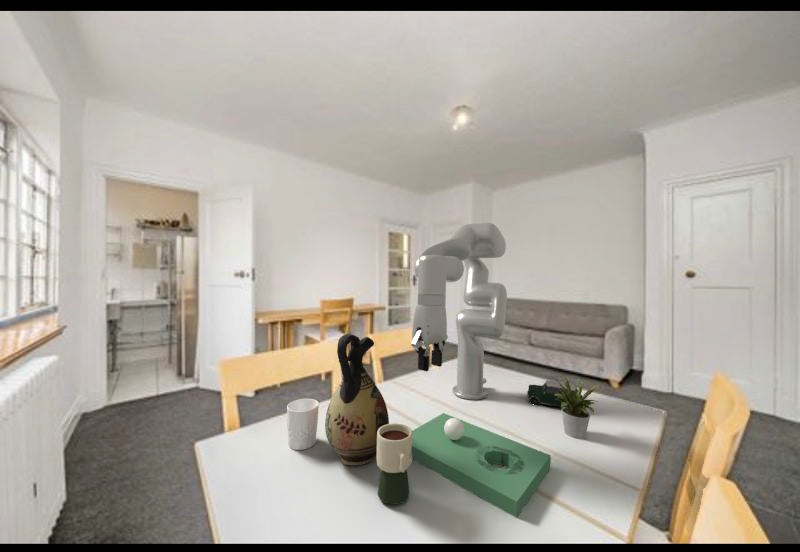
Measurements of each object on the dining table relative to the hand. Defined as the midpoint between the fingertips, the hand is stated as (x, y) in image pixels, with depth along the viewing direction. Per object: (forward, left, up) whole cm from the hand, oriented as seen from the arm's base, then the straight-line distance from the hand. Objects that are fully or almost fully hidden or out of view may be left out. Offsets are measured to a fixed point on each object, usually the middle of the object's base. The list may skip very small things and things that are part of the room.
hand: (430, 367), depth 82 cm
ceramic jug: (+19, -8, -20) cm, 28 cm away
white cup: (+25, -22, -20) cm, 39 cm away
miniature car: (-49, +18, -20) cm, 56 cm away
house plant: (-31, +27, -20) cm, 46 cm away
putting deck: (0, +13, -19) cm, 23 cm away
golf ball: (0, +8, -14) cm, 16 cm away
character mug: (+22, +8, -20) cm, 31 cm away
